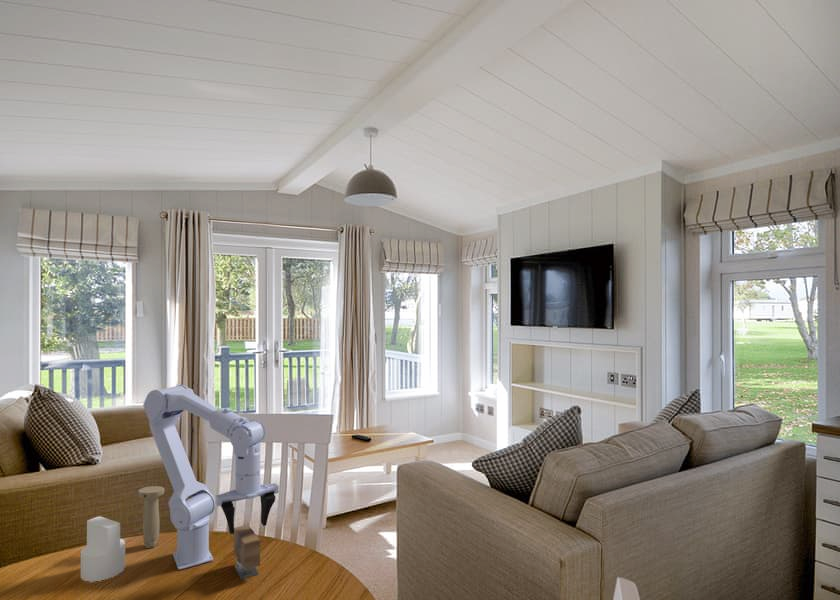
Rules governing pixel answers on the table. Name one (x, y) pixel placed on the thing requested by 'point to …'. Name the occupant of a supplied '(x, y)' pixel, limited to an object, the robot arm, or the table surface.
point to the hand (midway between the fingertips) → (247, 528)
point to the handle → (151, 514)
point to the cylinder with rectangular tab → (102, 550)
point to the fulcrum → (245, 571)
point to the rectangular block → (246, 547)
